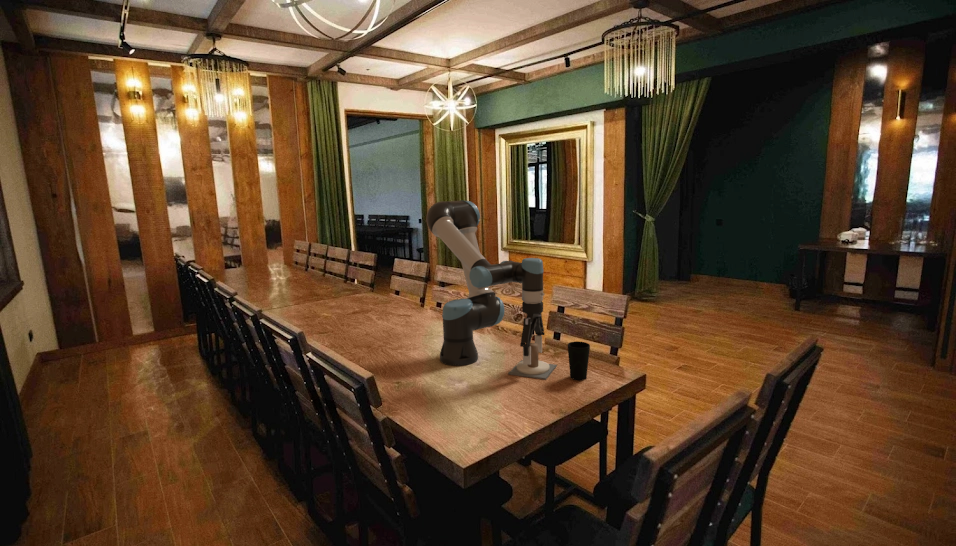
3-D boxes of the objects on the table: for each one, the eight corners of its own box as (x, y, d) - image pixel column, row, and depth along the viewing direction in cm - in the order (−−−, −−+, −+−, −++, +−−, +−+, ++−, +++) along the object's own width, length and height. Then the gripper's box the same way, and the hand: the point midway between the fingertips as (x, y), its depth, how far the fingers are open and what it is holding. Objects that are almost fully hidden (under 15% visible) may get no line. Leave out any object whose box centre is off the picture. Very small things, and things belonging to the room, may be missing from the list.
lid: (512, 372, 174) (511, 347, 172) (522, 361, 185) (522, 338, 183) (544, 376, 169) (544, 351, 167) (553, 365, 180) (553, 341, 178)
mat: (508, 374, 173) (508, 372, 173) (521, 361, 186) (521, 360, 186) (546, 379, 168) (546, 378, 168) (556, 366, 180) (556, 364, 180)
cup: (589, 382, 164) (590, 348, 163) (567, 381, 166) (567, 347, 164) (589, 374, 172) (589, 341, 170) (567, 372, 173) (567, 341, 171)
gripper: (531, 310, 160) (532, 370, 163) (552, 295, 182) (552, 348, 186) (510, 308, 163) (511, 368, 166) (533, 293, 185) (533, 346, 189)
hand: (532, 357), depth 176 cm, fingers open, 13 cm apart
